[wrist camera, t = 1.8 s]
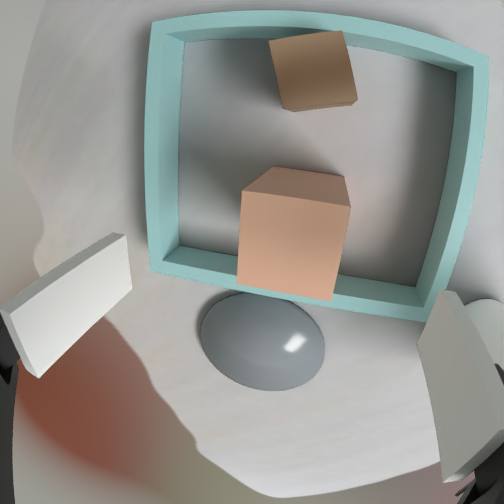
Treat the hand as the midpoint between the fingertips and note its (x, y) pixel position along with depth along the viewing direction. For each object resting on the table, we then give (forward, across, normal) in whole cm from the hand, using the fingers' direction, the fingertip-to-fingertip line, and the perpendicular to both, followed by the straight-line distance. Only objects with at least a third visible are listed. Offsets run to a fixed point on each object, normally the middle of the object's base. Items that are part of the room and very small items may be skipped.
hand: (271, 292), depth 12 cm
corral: (+11, 0, +4) cm, 12 cm away
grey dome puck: (+12, -2, -14) cm, 18 cm away
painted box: (+12, 0, 0) cm, 12 cm away
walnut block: (+11, 0, +10) cm, 15 cm away
